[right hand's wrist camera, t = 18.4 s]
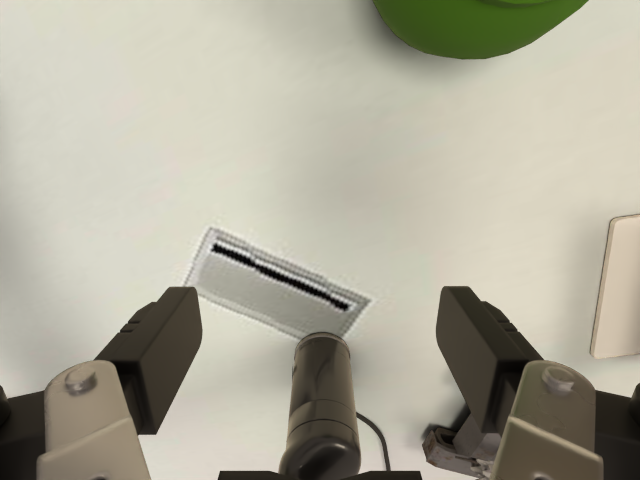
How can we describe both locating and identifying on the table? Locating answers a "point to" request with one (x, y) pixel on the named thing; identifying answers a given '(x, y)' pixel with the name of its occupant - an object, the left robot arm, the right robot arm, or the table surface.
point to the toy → (463, 450)
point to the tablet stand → (619, 292)
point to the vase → (473, 24)
